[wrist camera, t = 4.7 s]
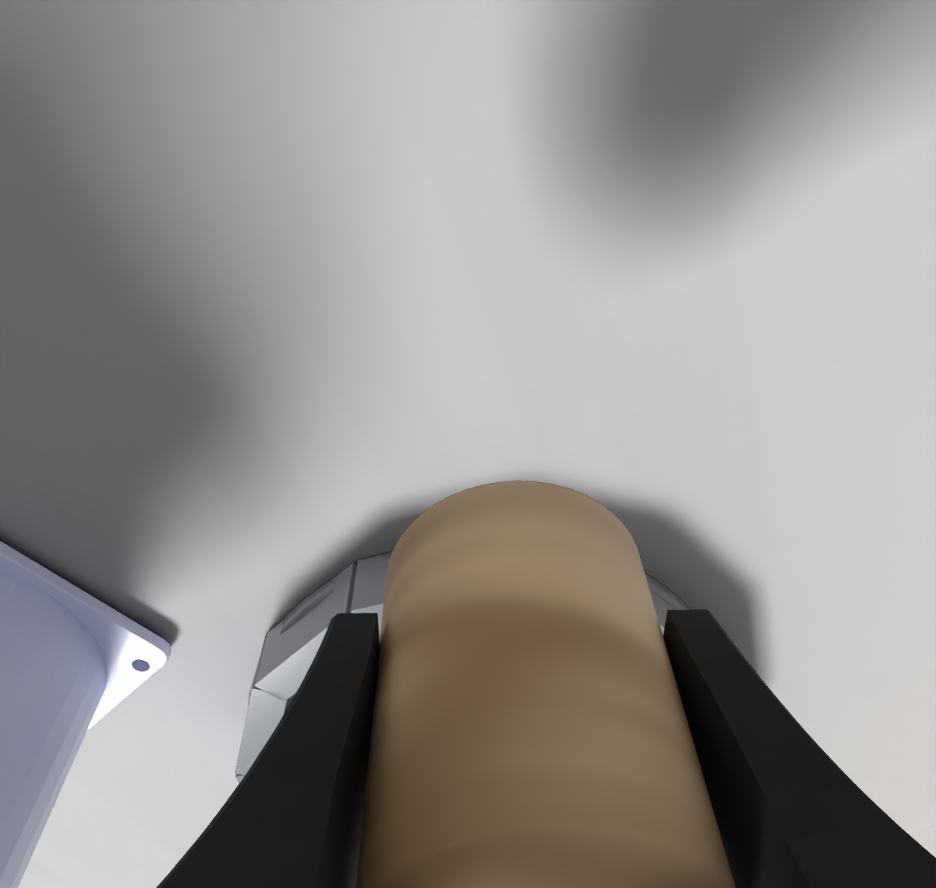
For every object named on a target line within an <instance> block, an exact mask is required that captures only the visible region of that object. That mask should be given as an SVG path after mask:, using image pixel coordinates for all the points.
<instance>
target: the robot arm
mask: <svg viewBox="0 0 936 888" xmlns="http://www.w3.org/2000/svg"><path fill="white" fill-rule="evenodd" d="M663 638H664V642H665V645H666V648H667V652H668V655H669V659H670V662H671V666H672V669H673V673H674V676H675V680H676V683H677V687H678V690H679V693H680V697H681V700H682V704H683V707H684V711H685V714H686V718H687V721H688V725H689V728H690V732H691V735H692V738H693V742H694V745H695V749H696V752H697V756H698V759H699V763H700V766H701V770H702V773H703V777H704V780H705V783H706V787H707V790H708V794H709V797H710V801H711V804H712V808H713V811H714V815H715V818H716V821H717V825H718V828H719V832H720V835H721V839H722V842H723V846H724V849H725V853H726V856H727V860H728V863H729V866H730V870H731V873H732V877H733V880H734V884H735V887H736V888H936V858H935V857H934V856H933V855H932V854H930V853H929V852H928V851H927V850H926V849H925V848H923V847H922V846H921V845H920V844H919V843H918V842H917V841H915V840H914V839H913V838H912V837H911V836H910V835H909V834H908V833H906V832H905V831H904V830H903V829H902V828H901V827H900V826H899V825H897V824H896V823H895V822H894V821H893V820H892V819H891V818H890V817H889V816H888V815H887V814H886V813H885V812H884V811H883V810H881V809H880V808H879V807H878V806H877V805H876V804H875V803H874V802H873V801H872V800H871V799H870V798H869V797H868V796H867V795H866V794H865V793H864V792H863V791H862V790H861V789H860V788H859V787H858V786H857V785H856V784H855V783H854V782H853V781H852V780H851V779H850V778H849V777H848V776H847V775H846V774H845V773H844V772H843V771H842V770H841V769H840V768H839V767H838V766H837V765H836V764H835V763H834V762H833V760H832V759H831V758H830V757H829V756H828V755H827V754H826V753H825V752H824V751H823V750H822V749H821V748H820V747H819V746H818V744H817V743H816V742H815V741H814V740H813V739H812V738H811V737H810V736H809V734H808V733H807V732H806V731H805V730H804V729H803V728H802V727H801V725H800V724H799V723H798V722H797V721H796V720H795V718H794V717H793V716H792V715H791V714H790V713H789V711H788V710H787V709H786V708H785V707H784V705H783V704H782V703H781V702H780V701H779V700H778V698H777V697H776V696H775V695H774V694H773V692H772V691H771V690H770V689H769V688H768V686H767V685H766V684H765V683H764V681H763V680H762V679H761V678H760V676H759V675H758V674H757V673H756V671H755V670H754V669H753V668H752V666H751V665H750V664H749V663H748V661H747V660H746V659H745V657H744V656H743V655H742V654H741V652H740V651H739V650H738V648H737V647H736V646H735V644H734V643H733V642H732V640H731V639H730V638H729V636H728V635H727V634H726V632H725V631H724V630H723V628H722V627H721V626H720V624H719V623H718V622H717V620H716V619H715V618H714V616H713V615H712V614H711V613H710V612H709V611H708V610H667V616H666V622H665V627H664V633H663ZM379 647H380V640H379V626H378V613H338V614H336V615H335V616H334V617H333V618H332V619H331V620H330V623H329V626H328V628H327V631H326V633H325V636H324V638H323V640H322V642H321V645H320V647H319V649H318V651H317V653H316V656H315V658H314V660H313V662H312V664H311V666H310V668H309V670H308V671H307V673H306V675H305V677H304V679H303V681H302V683H301V685H300V687H299V689H298V690H297V692H296V694H295V696H294V697H293V699H292V701H291V703H290V704H289V706H288V708H287V710H286V711H285V713H284V715H283V717H282V718H281V720H280V722H279V724H278V725H277V727H276V728H275V730H274V732H273V733H272V735H271V736H270V738H269V740H268V741H267V743H266V744H265V746H264V747H263V749H262V750H261V752H260V753H259V755H258V756H257V758H256V759H255V761H254V763H253V764H252V766H251V767H250V769H249V770H248V772H247V773H246V775H245V776H244V778H243V779H242V781H241V782H240V783H239V785H238V786H237V788H236V789H235V790H234V792H233V793H232V795H231V796H230V797H229V799H228V800H227V802H226V803H225V804H224V806H223V807H222V808H221V810H220V811H219V812H218V814H217V815H216V816H215V817H214V819H213V820H212V821H211V823H210V824H209V825H208V827H207V828H206V829H205V830H204V832H203V833H202V834H201V835H200V837H199V838H198V839H197V840H196V842H195V843H194V844H193V845H192V846H191V848H190V849H189V850H188V851H187V852H186V854H185V855H184V856H183V857H182V858H181V860H180V861H179V862H178V863H177V864H176V866H175V867H174V868H173V869H172V870H171V872H170V873H169V874H168V875H167V876H166V877H165V878H164V880H163V881H162V882H161V883H160V884H159V885H158V886H157V888H356V883H357V873H358V862H359V852H360V841H361V831H362V821H363V810H364V800H365V790H366V779H367V769H368V758H369V748H370V738H371V727H372V717H373V706H374V698H375V689H376V678H377V668H378V657H379ZM170 654H171V647H170V645H169V643H168V642H166V641H165V640H164V639H163V638H161V637H159V636H158V635H156V634H154V633H153V632H151V631H149V630H148V629H146V628H144V627H143V626H141V625H139V624H138V623H136V622H134V621H133V620H131V619H129V618H128V617H126V616H124V615H123V614H121V613H119V612H118V611H116V610H114V609H113V608H111V607H109V606H108V605H106V604H104V603H103V602H101V601H99V600H98V599H96V598H94V597H93V596H91V595H89V594H88V593H86V592H84V591H83V590H81V589H79V588H78V587H76V586H74V585H73V584H71V583H69V582H68V581H66V580H64V579H63V578H61V577H59V576H58V575H56V574H54V573H53V572H51V571H49V570H48V569H46V568H44V567H43V566H41V565H39V564H38V563H36V562H34V561H33V560H31V559H29V558H28V557H26V556H24V555H23V554H21V553H19V552H18V551H16V550H14V549H13V548H11V547H9V546H8V545H6V544H4V543H3V542H1V541H0V888H18V886H19V883H20V881H21V879H22V877H23V874H24V872H25V870H26V867H27V865H28V863H29V861H30V858H31V856H32V854H33V852H34V849H35V847H36V845H37V843H38V840H39V838H40V836H41V833H42V831H43V829H44V827H45V824H46V822H47V820H48V818H49V815H50V813H51V811H52V809H53V806H54V804H55V802H56V799H57V797H58V795H59V793H60V790H61V788H62V786H63V784H64V781H65V779H66V777H67V774H68V772H69V770H70V768H71V765H72V763H73V761H74V759H75V756H76V754H77V752H78V750H79V747H80V745H81V743H82V740H83V738H84V736H85V734H86V732H87V731H89V730H90V729H91V728H92V727H93V726H94V725H96V724H97V723H98V722H99V721H100V720H101V719H103V718H104V717H105V716H106V715H107V714H108V713H110V712H111V711H112V710H113V709H114V708H115V707H116V706H118V705H119V704H120V703H121V702H122V701H123V700H125V699H126V698H127V697H128V696H129V695H130V694H132V693H133V692H134V691H135V690H136V689H137V688H138V687H140V686H141V685H142V684H143V683H144V682H145V681H147V680H148V679H149V678H150V677H151V676H152V675H154V674H155V673H156V672H157V671H158V670H159V669H160V668H162V667H163V666H164V665H165V664H166V663H167V661H168V659H169V657H170ZM139 659H142V660H145V661H147V662H144V661H141V660H139Z"/></svg>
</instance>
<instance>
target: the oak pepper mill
mask: <svg viewBox="0 0 936 888" xmlns="http://www.w3.org/2000/svg"><path fill="white" fill-rule="evenodd" d="M356 888H736V887H735V884H734V880H733V877H732V873H731V870H730V866H729V863H728V860H727V856H726V853H725V849H724V846H723V842H722V839H721V835H720V832H719V828H718V825H717V821H716V818H715V815H714V811H713V808H712V804H711V801H710V797H709V794H708V790H707V787H706V783H705V780H704V777H703V773H702V770H701V766H700V763H699V759H698V756H697V752H696V749H695V745H694V742H693V738H692V735H691V732H690V728H689V725H688V721H687V718H686V714H685V711H684V707H683V704H682V700H681V697H680V693H679V690H678V687H677V683H676V680H675V676H674V673H673V669H672V666H671V662H670V659H669V655H668V652H667V648H666V645H665V642H664V638H663V635H662V631H661V628H660V624H659V621H658V617H657V614H656V610H655V607H654V603H653V600H652V597H651V593H650V590H649V586H648V583H647V579H646V576H645V572H644V569H643V565H642V562H641V559H640V555H639V552H638V548H637V546H636V544H635V542H634V540H633V537H632V535H631V534H630V532H629V531H628V530H627V528H626V527H625V525H624V524H623V523H622V522H621V521H620V520H619V519H618V518H617V517H616V516H615V515H614V514H613V513H612V512H611V511H610V510H608V509H607V508H606V507H604V506H603V505H602V504H601V503H599V502H597V501H595V500H594V499H592V498H590V497H588V496H586V495H584V494H582V493H579V492H577V491H574V490H572V489H569V488H565V487H562V486H558V485H554V484H548V483H542V482H533V481H507V482H497V483H491V484H485V485H480V486H477V487H473V488H470V489H466V490H464V491H461V492H459V493H456V494H454V495H451V496H449V497H447V498H445V499H443V500H442V501H440V502H438V503H436V504H434V505H433V506H432V507H430V508H429V509H427V510H426V511H425V512H423V513H422V514H421V515H420V516H419V517H418V518H416V519H415V520H414V521H413V522H412V523H411V524H410V525H409V526H408V528H407V529H406V530H405V532H404V533H403V534H402V535H401V537H400V538H399V540H398V542H397V544H396V545H395V547H394V549H393V551H392V554H391V557H390V559H389V563H388V568H387V573H386V582H385V592H384V602H383V613H382V623H381V634H380V647H379V657H378V668H377V678H376V689H375V698H374V706H373V717H372V727H371V738H370V748H369V758H368V769H367V779H366V790H365V800H364V810H363V821H362V831H361V841H360V852H359V862H358V873H357V883H356Z"/></svg>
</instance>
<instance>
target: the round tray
mask: <svg viewBox="0 0 936 888" xmlns="http://www.w3.org/2000/svg"><path fill="white" fill-rule="evenodd" d="M391 554H392V552H389V553H386V554H384V555H379V556H374V557H370V558H365V559H360V560H358V563H357V565H356V564H355V563H352V564H350V565H349V566H348V567H347V568H346V569H344V570H343V571H342V572H341V573H339V574H338V575H337V576H336V577H334V578H332V579H330V580H329V581H328V582H326V583H325V584H323V585H322V586H321V587H319V588H318V589H316V590H315V591H314V592H312V593H311V594H309V595H308V596H307V597H306V598H304V599H303V600H302V601H301V602H300V603H299V604H298V605H297V606H296V607H295V608H294V609H293V610H292V611H291V612H290V613H289V614H288V615H287V616H286V617H285V618H284V620H282V621H281V622H280V623H279V624H278V625H276V626H275V627H274V628H273V629H271V630H270V631H269V632H268V633H267V636H265V640H264V644H263V648H262V652H261V656H260V659H259V662H258V665H257V668H256V672H255V675H254V678H253V682H252V686H251V690H250V694H249V703H248V711H247V716H246V721H245V726H244V731H243V736H242V741H241V746H240V751H239V755H238V760H237V765H236V770H235V774H236V778H237V780H238V781H239V783H240V782H241V781H242V779H243V778H244V776H245V775H246V773H247V772H248V770H249V769H250V767H251V766H252V764H253V763H254V761H255V759H256V758H257V756H258V755H259V753H260V752H261V750H262V749H263V747H264V746H265V744H266V743H267V741H268V740H269V738H270V736H271V735H272V733H273V732H274V730H275V728H276V727H277V725H278V724H279V722H280V720H281V718H282V717H283V715H284V713H285V711H286V710H287V708H288V706H289V704H290V703H291V701H292V699H293V697H294V696H295V694H296V692H297V690H298V689H299V687H300V685H301V683H302V681H303V679H304V677H305V675H306V673H307V671H308V670H309V668H310V666H311V664H312V662H313V660H314V658H315V656H316V653H317V651H318V649H319V647H320V645H321V642H322V640H323V638H324V636H325V633H326V631H327V628H328V626H329V623H330V620H331V619H332V618H333V617H334V616H335V615H336V614H338V613H378V626H379V640H380V634H381V623H382V613H383V602H384V592H385V582H386V573H387V568H388V563H389V559H390V557H391ZM645 576H646V579H647V583H648V586H649V590H650V593H651V597H652V600H653V603H654V607H655V610H656V614H657V617H658V621H659V624H660V628H661V631H662V635H663V633H664V627H665V622H666V616H667V610H690V609H689V608H688V607H687V606H686V605H685V604H684V603H683V602H682V601H681V600H680V599H679V598H678V597H677V596H676V595H675V594H673V593H672V592H671V591H669V590H668V589H667V588H665V587H664V586H663V585H661V584H660V583H659V582H657V581H656V580H655V579H653V578H652V577H650V576H648V575H647V574H646V573H645Z"/></svg>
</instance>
